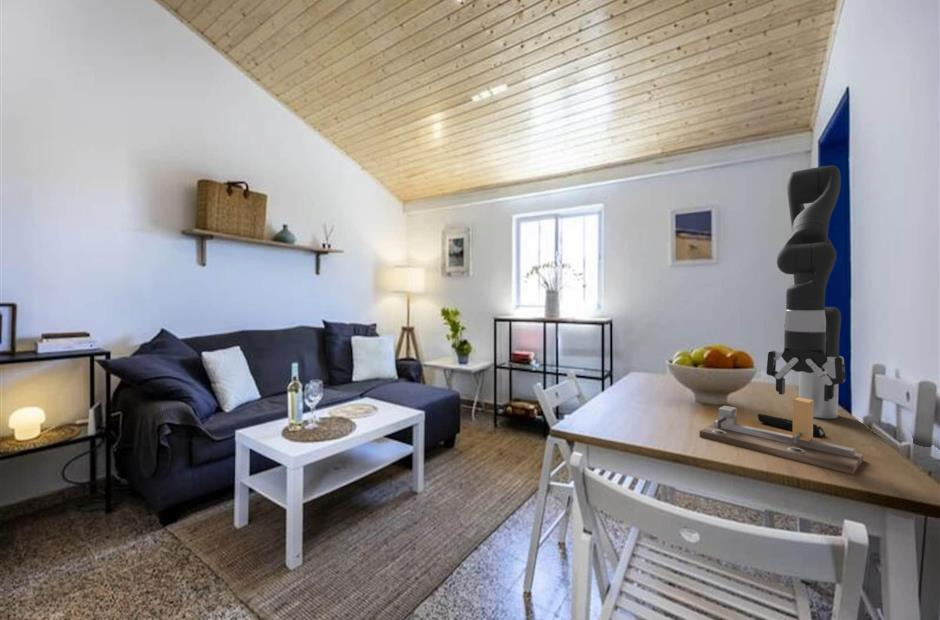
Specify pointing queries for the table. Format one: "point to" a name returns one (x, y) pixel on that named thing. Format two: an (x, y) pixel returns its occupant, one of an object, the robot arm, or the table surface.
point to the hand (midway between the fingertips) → (803, 397)
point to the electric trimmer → (787, 424)
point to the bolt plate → (781, 443)
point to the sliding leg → (802, 419)
